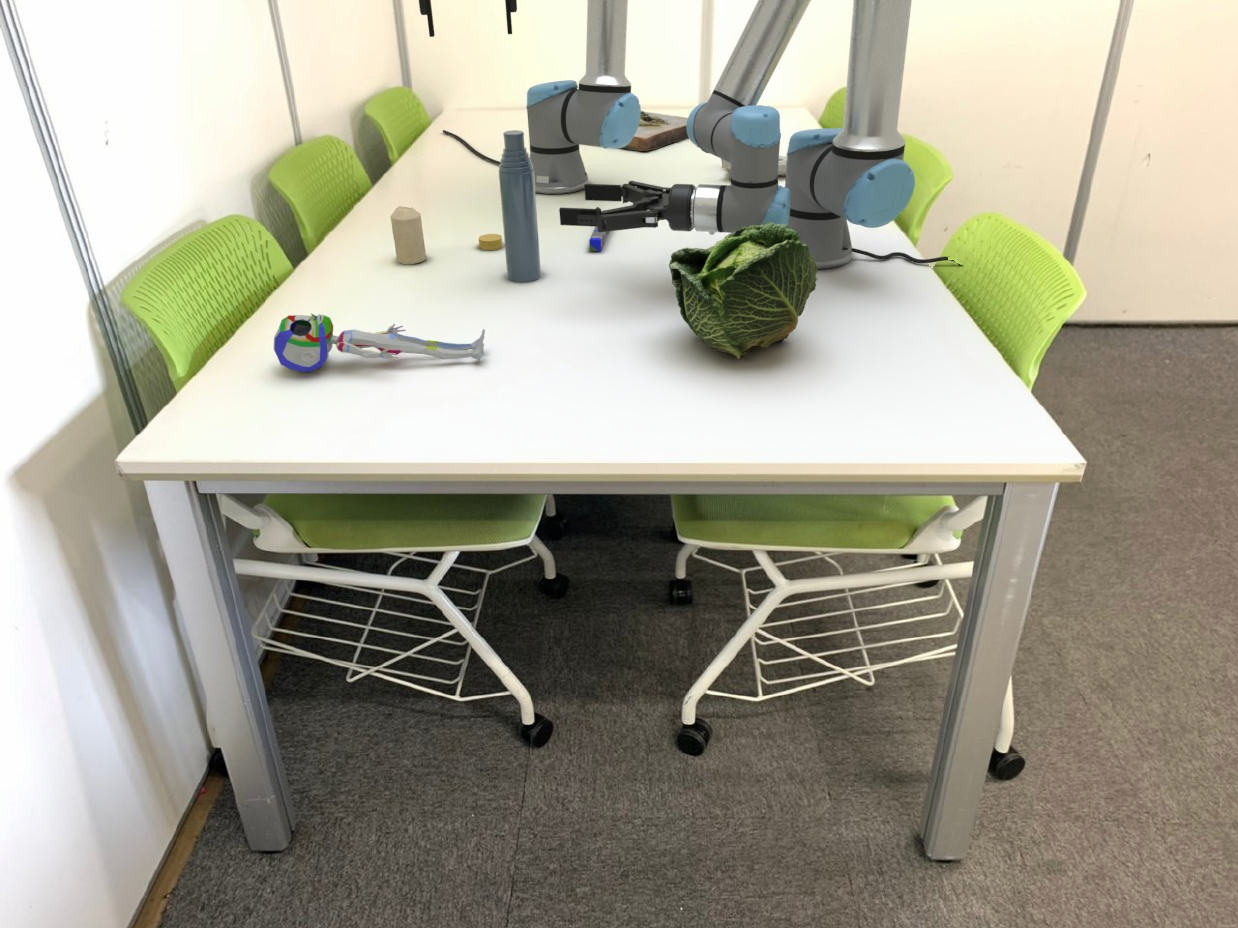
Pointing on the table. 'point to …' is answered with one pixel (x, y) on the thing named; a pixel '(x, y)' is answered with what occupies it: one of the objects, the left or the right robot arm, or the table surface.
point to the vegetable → (744, 287)
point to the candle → (408, 235)
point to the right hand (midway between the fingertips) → (573, 203)
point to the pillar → (597, 240)
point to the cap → (490, 242)
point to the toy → (354, 343)
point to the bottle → (519, 210)
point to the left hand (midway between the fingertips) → (471, 35)
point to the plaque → (657, 131)
